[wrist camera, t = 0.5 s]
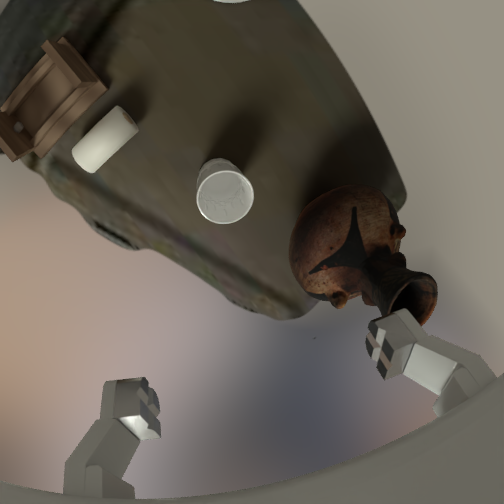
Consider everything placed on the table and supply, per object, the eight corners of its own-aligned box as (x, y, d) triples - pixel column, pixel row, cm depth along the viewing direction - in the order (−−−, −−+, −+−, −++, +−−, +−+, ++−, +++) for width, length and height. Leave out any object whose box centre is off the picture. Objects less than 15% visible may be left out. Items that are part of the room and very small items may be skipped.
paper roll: (120, 103, 40) (113, 106, 36) (141, 128, 43) (136, 133, 39) (78, 145, 42) (66, 152, 37) (98, 168, 45) (89, 177, 40)
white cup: (197, 202, 52) (200, 227, 43) (191, 157, 47) (193, 174, 39) (242, 195, 53) (255, 220, 44) (239, 151, 49) (252, 167, 40)
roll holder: (66, 37, 32) (41, 30, 24) (109, 89, 38) (92, 90, 30) (4, 108, 34) (-26, 116, 26) (44, 156, 41) (19, 173, 33)
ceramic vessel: (312, 276, 65) (378, 387, 40) (253, 233, 57) (309, 360, 32) (380, 205, 59) (481, 290, 34) (330, 148, 51) (450, 220, 26)
